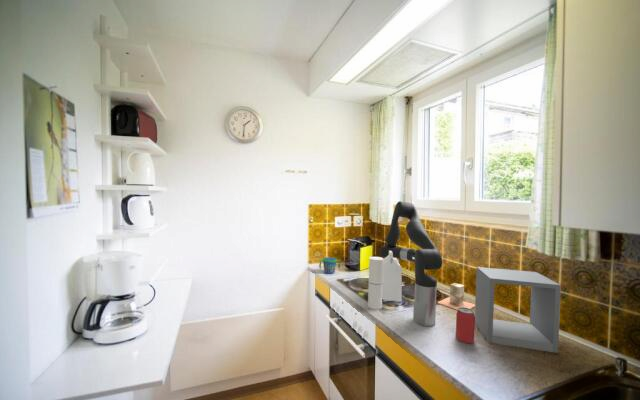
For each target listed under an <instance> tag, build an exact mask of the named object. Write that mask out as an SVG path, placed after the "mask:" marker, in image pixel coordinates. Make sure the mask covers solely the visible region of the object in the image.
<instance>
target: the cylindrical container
mask: <svg viewBox="0 0 640 400" xmlns="http://www.w3.org/2000/svg"><path fill="white" fill-rule="evenodd" d="M368 262H369V265H368V289H367V290H368V296H367V307H368V308H369V309H373V310H380V309H382V308H383V301H382V295H383V262H384V258H383V257H382V256H369V261H368Z"/></svg>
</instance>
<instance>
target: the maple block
mask: <svg viewBox="0 0 640 400" xmlns="http://www.w3.org/2000/svg"><path fill="white" fill-rule="evenodd" d="M449 285H450V286H449V297H450V303H451V304H454V305H457V306H461V305H463V304H464V301H465V300H464V298H465V285H464V284H462V283H461V284H460V283H457V282H453V283H451V284H449Z"/></svg>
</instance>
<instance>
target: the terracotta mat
mask: <svg viewBox="0 0 640 400" xmlns="http://www.w3.org/2000/svg"><path fill="white" fill-rule="evenodd" d="M436 304H438V305H441V306H442V307H443V306H444V307H446V308H447V307H448V308H449V309H453V310H455V311H458V308H460V307H464V308H468V309H471V310H473V308H474V309H475V303H471V302H468V301H465V300H464V304H463V305H461V306H457V305H454V304H451V303H450V296H448V297H446V298H443V299H442V300H439V301H436Z"/></svg>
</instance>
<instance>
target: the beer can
mask: <svg viewBox="0 0 640 400" xmlns="http://www.w3.org/2000/svg"><path fill="white" fill-rule="evenodd" d="M455 315H456V317H455V318H456V319H455V321H456V322H455V338H456V339H457V340H458V341H459V342H461V343H465V344H473V343H474V341H475V333H476V332H475V330H476V329H475V327H476V326H475V325H476V323H475V310H473V309H468V308H464V307H460V308H458V310H456V313H455Z"/></svg>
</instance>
